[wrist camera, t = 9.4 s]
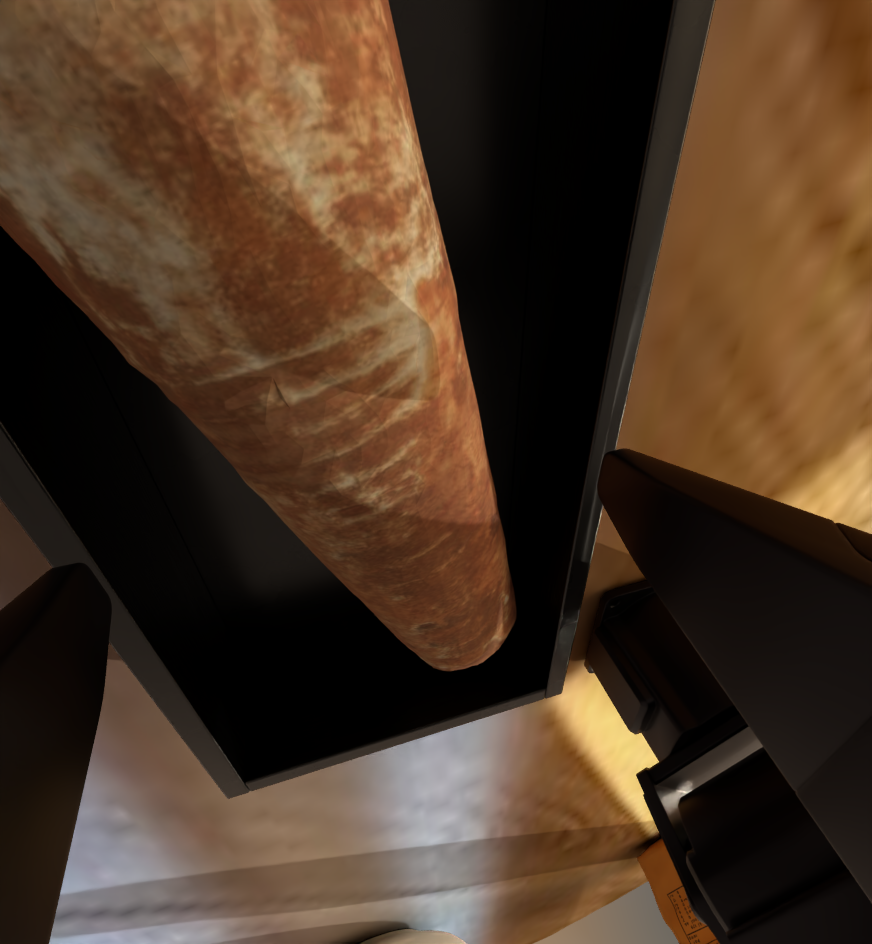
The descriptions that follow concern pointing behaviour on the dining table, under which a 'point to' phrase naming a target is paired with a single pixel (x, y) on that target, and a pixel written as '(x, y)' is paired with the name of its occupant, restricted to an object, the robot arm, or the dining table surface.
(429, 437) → the bread
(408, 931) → the serving bowl
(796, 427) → the dining table surface
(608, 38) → the bread tray
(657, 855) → the coffee package
